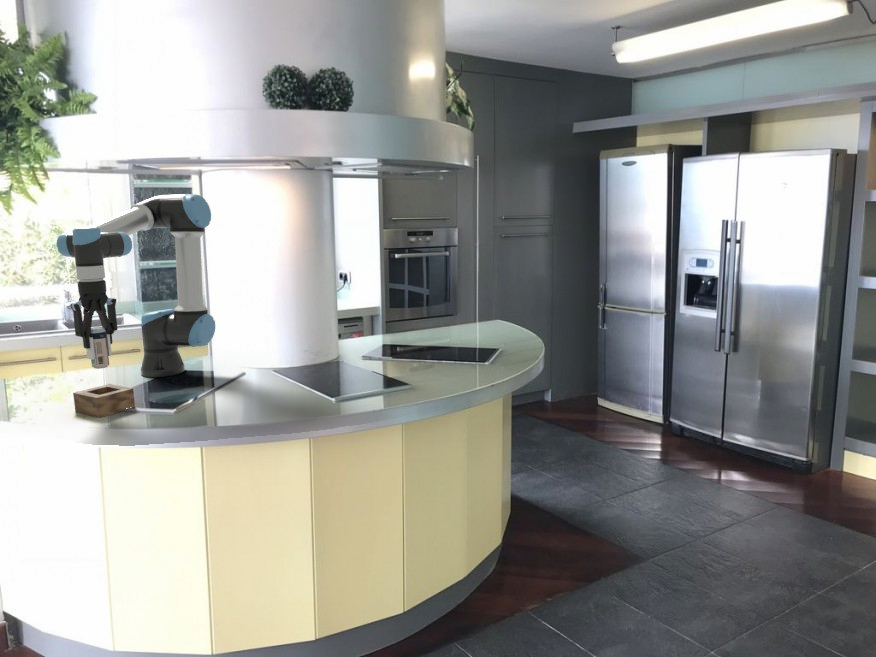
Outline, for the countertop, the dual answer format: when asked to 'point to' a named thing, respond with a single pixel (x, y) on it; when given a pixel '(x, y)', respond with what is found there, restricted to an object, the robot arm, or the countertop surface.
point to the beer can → (99, 348)
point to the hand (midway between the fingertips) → (99, 356)
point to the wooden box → (103, 400)
